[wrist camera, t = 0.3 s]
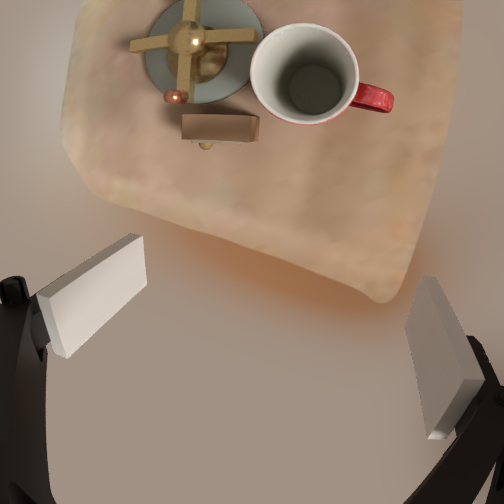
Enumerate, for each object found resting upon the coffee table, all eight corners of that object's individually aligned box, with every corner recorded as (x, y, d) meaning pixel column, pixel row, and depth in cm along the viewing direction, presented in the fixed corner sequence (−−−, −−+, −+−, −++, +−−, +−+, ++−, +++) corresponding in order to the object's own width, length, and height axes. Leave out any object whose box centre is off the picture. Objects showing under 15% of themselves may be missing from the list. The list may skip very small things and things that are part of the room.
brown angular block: (199, 115, 39) (182, 114, 35) (259, 117, 38) (249, 115, 33) (197, 146, 41) (181, 150, 36) (257, 150, 39) (247, 153, 35)
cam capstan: (151, 1, 33) (123, -13, 27) (265, -12, 30) (252, -35, 24) (141, 107, 39) (111, 107, 33) (257, 107, 36) (241, 102, 30)
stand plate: (156, 3, 34) (151, 1, 33) (267, -8, 31) (265, -12, 30) (147, 105, 40) (141, 105, 39) (260, 105, 37) (257, 104, 36)
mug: (268, 113, 37) (236, 107, 25) (288, 47, 34) (266, 12, 21) (366, 147, 36) (383, 156, 24) (388, 80, 32) (414, 58, 20)
